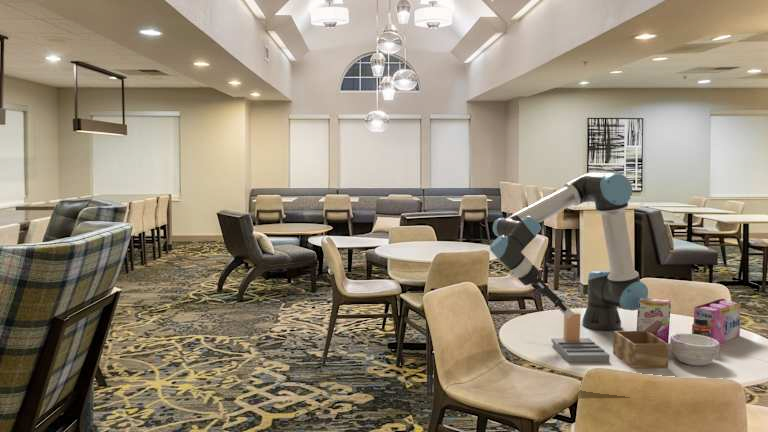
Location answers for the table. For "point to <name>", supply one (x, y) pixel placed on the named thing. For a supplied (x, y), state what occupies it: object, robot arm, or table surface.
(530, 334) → the table surface
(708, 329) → the supplement bottle
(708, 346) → the paper bowls
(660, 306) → the candy bar box
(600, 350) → the grooved grey block
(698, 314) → the gum box
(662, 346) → the tub
